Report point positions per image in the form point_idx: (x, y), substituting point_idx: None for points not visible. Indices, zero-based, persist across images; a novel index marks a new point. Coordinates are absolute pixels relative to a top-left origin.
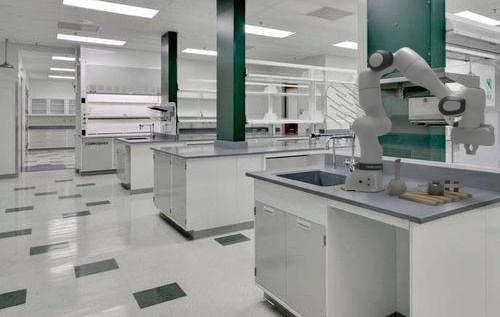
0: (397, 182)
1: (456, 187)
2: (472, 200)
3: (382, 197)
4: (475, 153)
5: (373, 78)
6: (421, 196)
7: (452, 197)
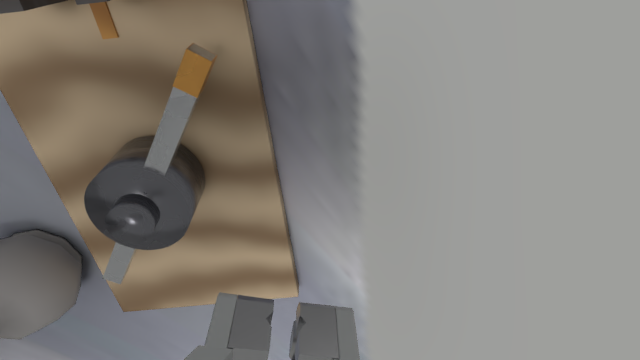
0: (38, 329)
1: (199, 95)
2: (308, 49)
3: (99, 332)
4: (354, 325)
5: None
6: (182, 261)
7: (260, 164)
